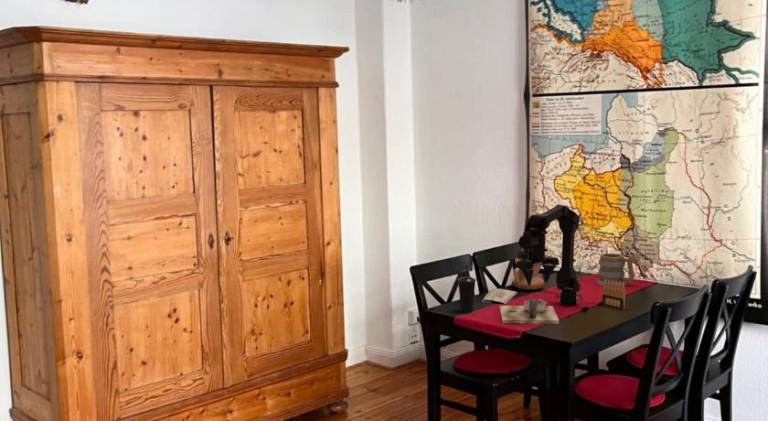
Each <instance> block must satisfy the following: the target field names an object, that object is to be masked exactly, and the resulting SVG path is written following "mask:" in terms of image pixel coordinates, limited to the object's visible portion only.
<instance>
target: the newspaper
mask: <svg viewBox="0 0 768 421" xmlns="http://www.w3.org/2000/svg"><path fill="white" fill-rule="evenodd" d="M517 294H518V292H517V291H514V290H508V289H502V288H495V289H494V290H492V289H491V290H489V291H488V293H487V294H486V295H485V296H484V298H483V299H481V302H482V303H488V304H491V303H493V301H494V302H497V303H502V304H504V305H506V304H507V303H508V302H509V301H510V300H511V299H512V298H514V297H515V295H517Z"/></svg>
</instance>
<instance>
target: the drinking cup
mask: <svg viewBox="0 0 768 421" xmlns="http://www.w3.org/2000/svg"><path fill="white" fill-rule="evenodd" d="M468 268H469V267H468V264H467V263H466V264H465V276H462V277H459V278H457V283H458V292H459V304H460V312H462V313H465V312H469V313H472V312H474V311H473V310H474V309H473V308H474V300H475V298H474V297H475V290H476V289H475V288H476V281H477V279H476V278H475V277H472V276H469V275H468Z"/></svg>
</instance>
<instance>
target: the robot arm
mask: <svg viewBox="0 0 768 421" xmlns="http://www.w3.org/2000/svg"><path fill="white" fill-rule="evenodd" d="M556 220H557V221H558V228H559V230H560V231H561V233H562V242H561V262H560V259H559V258H558V257H554V256H548V255H547V256H546V252H548V248H546V235H547V234H549V233H548V231H547V229H548V228H549V227H550V224H551V223H552V222H554V221H556ZM580 221H581V218H580V216H579V214H577V212H576V211H575V210H574V211H573V210H572V209H570V208H569V207H568V206H567V205H564V204H561V205H560V204H557V205H555V206H553V207H552V208H550V209H549V210H546V211H544V212H542V213H534V214H531V215H530V216H529V218H528V220H527V223H526V225H525V228H524V231H523V232H522V235H521V236H520V237H519V239H518V245H519V247H520V248H521V249H523V250H519V251H517V258H518V259H521V260H522V261H518V262H517V263H516V262H515V269H516V268H519V270H521V271H522V272H523V273H524V275H525V278H526V281H527V284H528V285H531V281H532V276H533V270H532V268H533V266H536V265H542V266H541V267H542V268H543V280H544V283H546V284H547V283H548V281H549V280H550V278H551V275H552V274H553V273H554V270H555V269H556V268H557V266H559V265H560V263H561V267H560V268H559V270H557V271H556V274H555V275H556V277H555V283H556V288H557V290H560V292H559V303H560V304H561V306H577V305H578V303H577V292H580V291H581V284H580V281H579V280H578V277H577V276H578V275H577V272H576V270H575V268H574V254H575V252H574V251H575V247H574V246H575V234H576V232H577V231H578V229H580V228H579V226H580V224H581V223H580ZM524 250H527V251H524ZM526 260H527V261H526ZM530 261H531V262H530ZM539 262H541V263H539Z"/></svg>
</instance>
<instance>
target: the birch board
mask: <svg viewBox="0 0 768 421" xmlns="http://www.w3.org/2000/svg"><path fill="white" fill-rule="evenodd" d="M499 311H500V317H502V318H501V321H502V322H503V323H502V324H511V323H520V324H522V325H523V324H525V323H526V324H527V325H529V324H531V325H560V319H559V317H558V315H557V313H556V311H555V309H554V307H553V305H546V312H543V313H537V317H535V318H531V317H529V312H526V311H524V305H499ZM526 324H525V325H526Z"/></svg>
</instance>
